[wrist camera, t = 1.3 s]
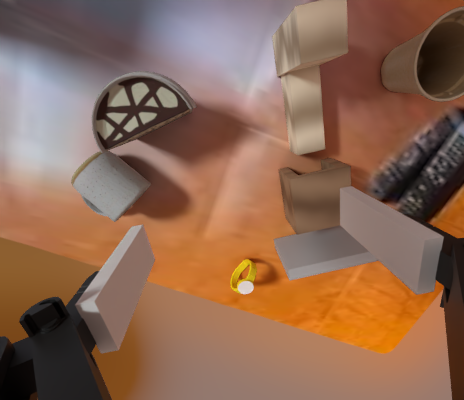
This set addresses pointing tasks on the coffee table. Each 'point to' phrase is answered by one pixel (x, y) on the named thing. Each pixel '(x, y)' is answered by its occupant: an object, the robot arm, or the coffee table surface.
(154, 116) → the half-round slice
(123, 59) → the coffee table surface
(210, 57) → the coffee table surface
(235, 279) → the watch
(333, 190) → the block
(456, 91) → the flower pot
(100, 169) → the ceramic mug
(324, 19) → the cream l-shaped piece
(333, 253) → the wall
